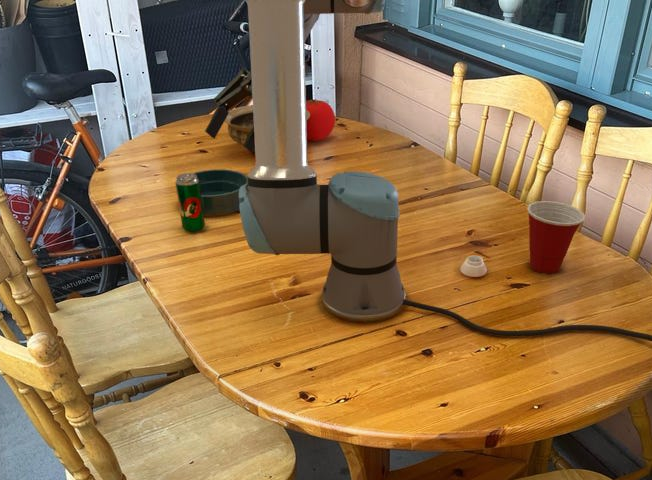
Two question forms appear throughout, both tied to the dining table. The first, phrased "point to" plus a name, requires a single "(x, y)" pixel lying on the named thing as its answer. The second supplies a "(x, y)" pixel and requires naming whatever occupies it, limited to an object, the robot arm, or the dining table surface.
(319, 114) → the tomato
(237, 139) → the ceramic bowl
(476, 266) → the lidless jar
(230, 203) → the glazed bowl
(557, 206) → the plastic cup
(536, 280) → the dining table surface
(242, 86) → the robot arm
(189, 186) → the soda can
